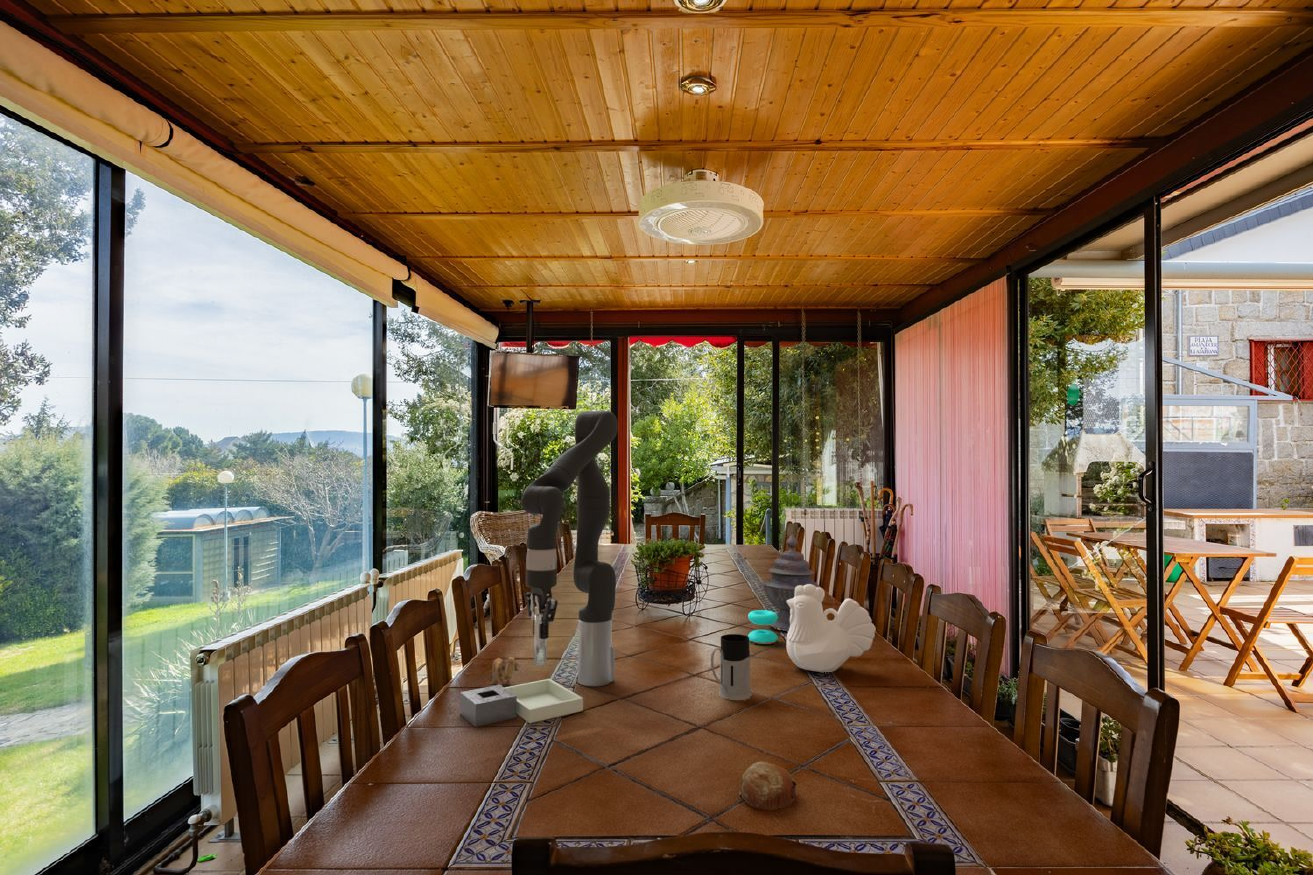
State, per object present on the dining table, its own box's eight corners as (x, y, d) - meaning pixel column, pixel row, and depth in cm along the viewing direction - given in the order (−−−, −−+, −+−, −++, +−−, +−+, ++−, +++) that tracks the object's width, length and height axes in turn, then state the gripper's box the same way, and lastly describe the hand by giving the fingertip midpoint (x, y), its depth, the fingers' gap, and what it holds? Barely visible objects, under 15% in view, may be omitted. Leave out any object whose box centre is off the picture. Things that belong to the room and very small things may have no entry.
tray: (549, 693, 183) (549, 678, 183) (582, 714, 168) (583, 697, 169) (498, 704, 175) (498, 688, 175) (529, 727, 160) (529, 709, 160)
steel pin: (542, 661, 174) (543, 604, 175) (548, 664, 172) (549, 606, 172) (531, 663, 172) (532, 606, 173) (537, 666, 170) (538, 608, 170)
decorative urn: (760, 632, 246) (765, 532, 249) (761, 623, 266) (765, 530, 269) (819, 637, 243) (823, 536, 246) (815, 628, 262) (819, 534, 266)
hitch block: (499, 708, 172) (499, 684, 172) (516, 721, 164) (516, 695, 164) (460, 717, 166) (460, 692, 166) (475, 731, 158) (475, 704, 158)
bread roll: (744, 804, 132) (727, 766, 132) (792, 779, 133) (774, 741, 133) (756, 832, 123) (737, 791, 123) (808, 805, 124) (789, 764, 123)
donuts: (779, 610, 240) (775, 616, 230) (779, 639, 239) (775, 647, 230) (750, 608, 243) (745, 614, 233) (750, 637, 242) (745, 644, 233)
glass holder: (758, 694, 183) (758, 637, 184) (725, 709, 173) (725, 647, 173) (731, 687, 189) (731, 631, 190) (698, 700, 179) (698, 641, 179)
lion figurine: (522, 691, 185) (522, 657, 186) (504, 695, 182) (504, 660, 182) (498, 677, 197) (499, 645, 197) (480, 681, 194) (481, 648, 194)
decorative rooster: (780, 673, 201) (780, 587, 202) (793, 659, 216) (793, 578, 217) (870, 685, 191) (869, 594, 192) (877, 669, 205) (877, 585, 206)
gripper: (568, 569, 169) (567, 641, 169) (542, 562, 181) (541, 629, 180) (540, 571, 165) (539, 645, 164) (515, 564, 176) (514, 633, 176)
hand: (540, 636), depth 172 cm, fingers closed on steel pin, 3 cm apart
